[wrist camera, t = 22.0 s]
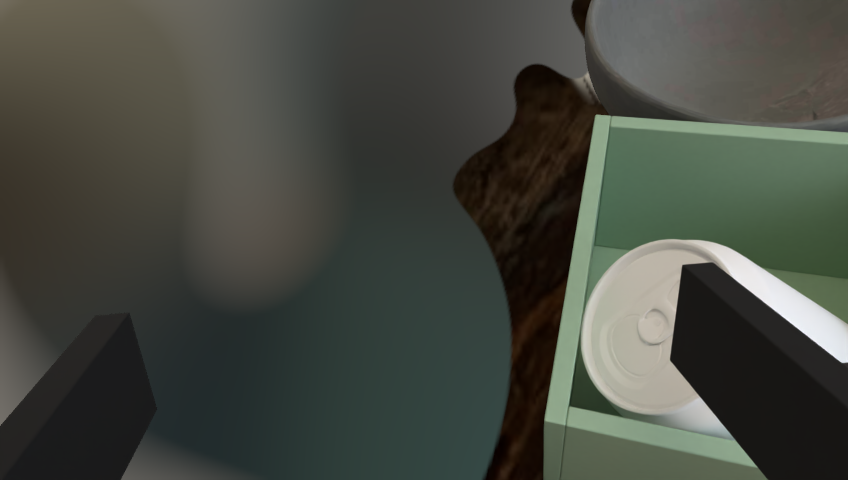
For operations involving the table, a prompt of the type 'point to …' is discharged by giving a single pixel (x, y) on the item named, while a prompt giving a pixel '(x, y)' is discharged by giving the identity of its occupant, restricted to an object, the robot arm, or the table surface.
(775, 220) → the open storage box
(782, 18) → the bowl
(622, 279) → the beverage can
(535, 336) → the table surface
